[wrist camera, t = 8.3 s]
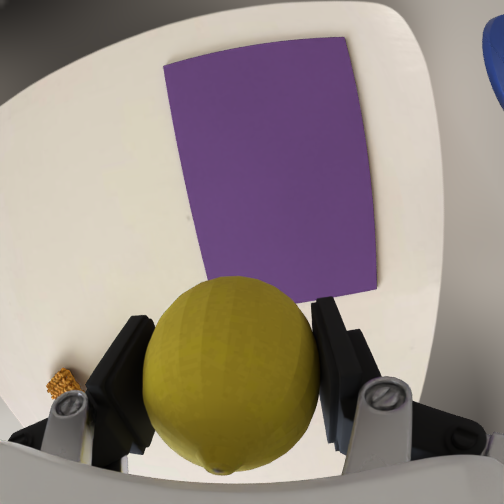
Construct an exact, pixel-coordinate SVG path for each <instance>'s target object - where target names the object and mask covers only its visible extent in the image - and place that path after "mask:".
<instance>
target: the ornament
mask: <svg viewBox="0 0 504 504" xmlns="http://www.w3.org/2000/svg"><path fill="white" fill-rule="evenodd" d="M66 377H67V378H66ZM72 381H73V382H72ZM71 383H72V384H71ZM76 383H77V382H76V381H75V378H74V377H73V375H72V374H71V372H70V371H69V369H68V370H67V369H65V368H62V369H61V371H58V372H57V373H56V374H55V376H54V377H53V378H52V379H51V381H49V383H48V384H47V385H46V387H47V388H48V390H47V391H48V393H49V392H50V393H51V395H53V396H52V397H51V398H52V399H54V398H55V399H56V398H57V397H58V396H60V395H61V394H63V393H65V392H67V391H71V390H80V391H81V390H82V389H81V388H80V387H81V386H80V385H79V384H78V383H77V384H76ZM51 390H52V391H51ZM82 391H83V392H84V390H82ZM84 393H85V392H84Z"/></svg>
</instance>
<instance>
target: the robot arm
mask: <svg viewBox="0 0 504 504" xmlns="http://www.w3.org/2000/svg"><path fill="white" fill-rule="evenodd" d="M311 314H312V331H313V335H314V337H315V340H316V344H317V348H318V353H319V360H320V391H319V395H320V401H321V406H322V412H323V418H324V424H325V429H326V435H327V441H328V443H334V445H335V450H336V451H340V453H342V454H344V455H346V459H345V463H344V467H343V471H342V475H339V476H332V477H325V478H317V479H309V480H300V481H290V482H276V483H253V484H223V483H199V482H186V481H175V480H166V479H158V478H151V477H144V476H138V475H132V474H128V458H127V455H128V454H129V453H133V454H140V455H143V454H144V451H145V448H146V447H149V446H150V444H151V441H152V438H153V435H154V432H155V429H154V427H153V426H152V424H151V421H150V419H149V416H148V413H147V410H146V407H145V405H144V400H143V366H144V359H145V354H146V350H147V347H148V344H149V342H150V339H151V337H152V334H153V332H154V330H155V325H154V322H153V320H152V319H149V318H148V317H147V316H146V315H138V316H131V317H130V318H129V320H128V321H127V323H126V324H125V326H124V327H123V328H122V330H121V331H120V333H119V334H118V336H117V337H116V339H115V340H114V342H113V343H112V344H111V346H110V347H109V349H108V350H107V352H106V353H105V355H104V356H103V358H102V359H101V361H100V362H99V364H98V365H97V367H96V368H95V370H94V371H93V373H92V374H91V376H90V378H89V379H88V381H87V382H86V384H85V385H86V387H87V390H86V392H85V393H84V392H83V391H80V390H71V391H67V392H65V393H63V394H61V395H60V396H58V397H57V398H56V399H55V401H54V402H53V404H52V406H51V410H50V414H49V417H48V418H46V419H44V420H42V421H39V422H37V423H35V424H33V425H30V426H28V427H26V428H23V429H21V430H19V431H17V432H15V433H13V434H12V435H11V437H10V438H9V440H8V441H5V440H0V504H504V434H502V433H498V432H493V434H492V435H489V434H486V432H485V431H484V429H483V427H482V426H481V425H479V424H478V423H477V422H474V421H472V420H469V419H466V418H463V417H460V416H456V415H453V414H450V413H447V412H444V411H441V410H438V409H435V408H432V407H429V406H426V405H423V404H420V403H417V402H415V401H412V392H411V389H410V387H409V386H408V384H407V383H405V382H404V381H402V380H400V379H398V378H395V377H388V376H385V377H382V376H381V374H380V371H379V369H378V367H377V365H376V362H375V360H374V358H373V356H372V353H371V351H370V349H369V347H368V344H367V342H366V340H365V338H364V336H363V334H362V332H361V330H360V329H355V330H349V331H347V330H346V328H345V325H344V323H343V320H342V318H341V315H340V313H339V310H338V308H337V306H336V303H335V301H334V298H333V296H329V297H322V298H317V299H316V302H315V303H311Z"/></svg>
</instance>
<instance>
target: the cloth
mask: <svg viewBox="0 0 504 504" xmlns="http://www.w3.org/2000/svg"><path fill="white" fill-rule="evenodd" d="M163 68H164V74H165V80H166V86H167V92H168V98H169V104H170V109H171V115H172V120H173V125H174V131H175V136H176V141H177V146H178V151H179V156H180V161H181V166H182V170H183V175H184V180H185V185H186V189H187V194H188V198H189V203H190V207H191V212H192V216H193V220H194V225H195V229H196V233H197V238H198V242H199V246H200V250H201V254H202V258H203V262H204V266H205V270H206V274H207V278H208V280H212V279H215V278H218V277H225V276H243V277H249V278H254V279H258V280H261V281H263V282H265V283H268V284H270V285H272V286H274V287H276V288H278V289H279V290H280V291H282V292H283V293H284V294H286V295H287V296H288V297H290V298H291V299H292V300H293V301H294V303H295V304H296V303H302V302H308V301H314V300H316V299H317V298H322V297H329V296H333V297H338V296H343V295H349V294H354V293H359V292H365V291H370V290H375V289H377V270H376V241H375V224H374V210H373V198H372V187H371V178H370V169H369V161H368V153H367V146H366V139H365V133H364V127H363V120H362V115H361V109H360V104H359V98H358V93H357V88H356V84H355V79H354V74H353V70H352V66H351V61H350V57H349V53H348V49H347V45H346V41H345V38H344V37H328V38H310V39H298V40H288V41H279V42H271V43H264V44H257V45H251V46H245V47H239V48H234V49H229V50H224V51H219V52H215V53H210V54H206V55H202V56H198V57H194V58H190V59H186V60H182V61H179V62H175V63H172V64H168V65H165V66H163Z"/></svg>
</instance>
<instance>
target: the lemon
mask: <svg viewBox="0 0 504 504" xmlns="http://www.w3.org/2000/svg"><path fill="white" fill-rule="evenodd" d="M319 391H320V360H319V353H318V348H317V344H316V340H315V337H314V335H313V332H312V329H311V327H310V324H309V322H308V320H307V319H306V317H305V316H304V314H303V313H302V312H301V310H300V309H299V308H298V306H297V305H296V304H295V303H294V301H293V300H292V299H291V298H290V297H288V296H287V295H286V294H284V293H283V292H282V291H280V290H279V289H278V288H276V287H274V286H272V285H270V284H268V283H265V282H263V281H261V280H258V279H254V278H249V277H243V276H225V277H218V278H215V279H212V280H208V281H205V282H201V283H200V284H198V285H196V286H195V287H193V288H191V289H190V290H188V291H186V292H185V293H183V294H182V295H180V296H179V297H178V298H177V299H176V300H175V301H174V303H173V304H172V305H171V306H170V307H169V308H168V309H167V310H166V311H165V313H164V314H163V315H162V316H161V318H160V320H159V321H158V323H157V325H156V328H155V330H154V332H153V334H152V337H151V339H150V342H149V344H148V347H147V350H146V354H145V359H144V366H143V400H144V405H145V407H146V410H147V413H148V416H149V419H150V421H151V424H152V426H153V427H154V429H155V430H156V432H157V433H158V434H159V436H160V437H161V438H162V440H163V441H164V442H165V443H166V444H167V445H168V446H169V447H170V448H171V449H172V450H174V451H175V452H176V453H177V454H178V455H180V456H181V457H183V458H184V459H186V460H188V461H190V462H192V463H193V464H196V465H198V466H201V467H204V468H205V470H206V471H208V472H209V473H212V474H215V475H230V474H232V473H233V472H238V471H246V470H251V469H254V468H257V467H260V466H263V465H266V464H269V463H270V462H272V461H274V460H276V459H277V458H279V457H280V456H282V455H284V454H285V453H287V452H288V451H289V450H290V449H291V448H292V447H293V446H294V445H295V444H296V443H297V442H298V441H299V440H300V439H301V437H302V436H303V435H304V433H305V432H306V430H307V428H308V426H309V424H310V421H311V419H312V417H313V414H314V412H315V409H316V406H317V402H318V398H319Z"/></svg>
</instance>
